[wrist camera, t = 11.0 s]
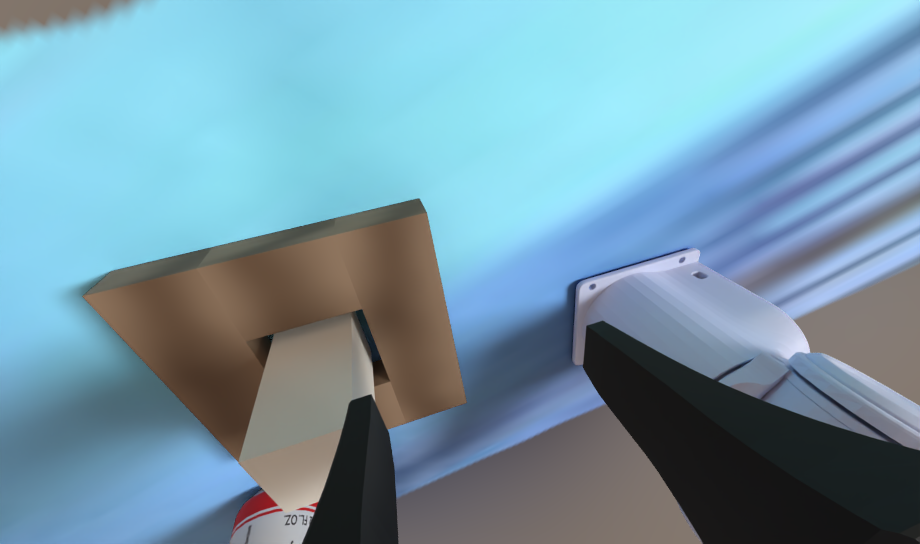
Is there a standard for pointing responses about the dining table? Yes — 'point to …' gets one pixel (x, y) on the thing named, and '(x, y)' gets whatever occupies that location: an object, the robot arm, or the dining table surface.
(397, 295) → the slotted board
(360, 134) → the dining table surface
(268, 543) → the beer can
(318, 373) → the peg
